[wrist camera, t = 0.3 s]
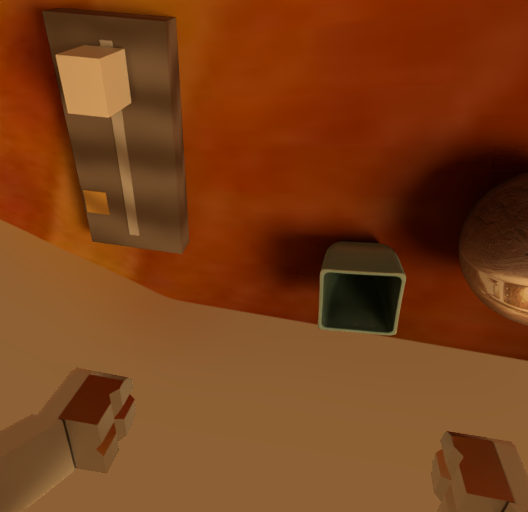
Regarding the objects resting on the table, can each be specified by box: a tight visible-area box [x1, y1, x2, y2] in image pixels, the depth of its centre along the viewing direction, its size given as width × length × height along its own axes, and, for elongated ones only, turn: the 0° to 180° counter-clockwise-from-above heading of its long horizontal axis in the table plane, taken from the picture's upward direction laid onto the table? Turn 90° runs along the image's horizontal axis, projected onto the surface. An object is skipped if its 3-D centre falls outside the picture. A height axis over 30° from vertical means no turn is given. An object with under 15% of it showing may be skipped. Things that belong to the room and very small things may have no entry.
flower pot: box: [318, 241, 406, 335], centre depth 50 cm, size 9×9×9 cm
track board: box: [42, 8, 189, 254], centre depth 48 cm, size 26×12×3 cm, turn 177°
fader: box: [56, 45, 131, 118], centre depth 40 cm, size 5×4×5 cm
